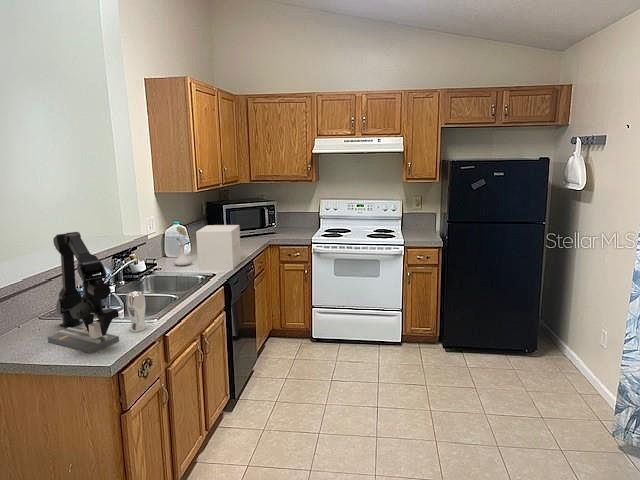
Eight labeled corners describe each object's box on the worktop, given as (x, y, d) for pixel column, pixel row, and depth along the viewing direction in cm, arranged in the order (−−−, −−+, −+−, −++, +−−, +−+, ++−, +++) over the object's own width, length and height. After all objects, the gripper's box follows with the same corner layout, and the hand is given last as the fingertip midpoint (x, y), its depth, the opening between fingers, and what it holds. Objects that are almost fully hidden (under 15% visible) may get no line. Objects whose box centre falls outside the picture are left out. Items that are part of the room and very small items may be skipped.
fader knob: (90, 340, 168) (88, 324, 167) (99, 336, 172) (97, 321, 171) (95, 341, 167) (93, 326, 166) (105, 337, 170) (103, 322, 169)
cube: (233, 270, 279) (231, 231, 274) (198, 271, 279) (196, 231, 275) (241, 261, 303) (239, 224, 299) (209, 261, 304) (207, 225, 299)
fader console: (48, 342, 173) (47, 334, 173) (77, 331, 184) (76, 323, 183) (91, 353, 163) (90, 345, 162) (119, 341, 173) (118, 333, 173)
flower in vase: (194, 265, 292) (192, 226, 287) (177, 267, 286) (174, 228, 281) (188, 261, 303) (185, 224, 298) (170, 263, 296) (168, 225, 292)
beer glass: (149, 325, 189) (146, 290, 186) (144, 332, 182) (140, 296, 179) (132, 326, 189) (129, 291, 186) (126, 332, 182) (123, 296, 179)
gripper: (55, 296, 163) (60, 337, 166) (90, 303, 155) (95, 346, 158) (83, 288, 173) (87, 327, 176) (117, 294, 165) (121, 335, 168)
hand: (97, 333), depth 169 cm, fingers open, 7 cm apart
